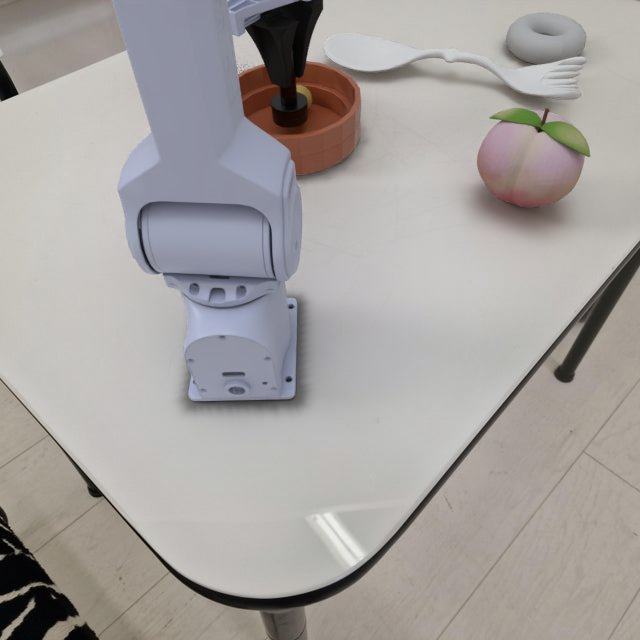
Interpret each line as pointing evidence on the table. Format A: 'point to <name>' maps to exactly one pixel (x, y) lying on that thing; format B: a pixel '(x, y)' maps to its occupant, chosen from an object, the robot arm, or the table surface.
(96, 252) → the table surface
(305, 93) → the ball
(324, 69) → the bowl
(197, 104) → the robot arm
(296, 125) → the black joystick
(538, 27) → the donut
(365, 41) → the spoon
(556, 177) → the decorative fruit
